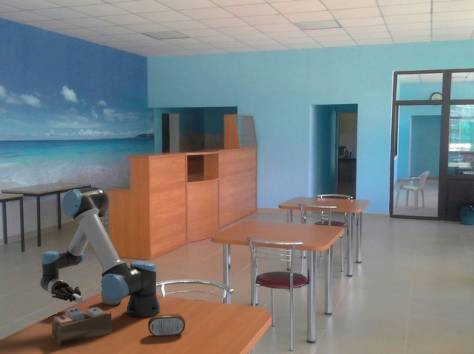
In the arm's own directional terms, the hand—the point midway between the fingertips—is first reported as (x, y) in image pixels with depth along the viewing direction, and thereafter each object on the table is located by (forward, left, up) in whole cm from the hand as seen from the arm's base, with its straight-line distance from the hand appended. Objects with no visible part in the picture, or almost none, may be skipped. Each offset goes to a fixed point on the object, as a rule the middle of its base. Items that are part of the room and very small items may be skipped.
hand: (80, 300), depth 225 cm
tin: (-36, +23, -9) cm, 44 cm away
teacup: (-13, -22, -9) cm, 27 cm away
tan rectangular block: (+5, +20, -6) cm, 22 cm away
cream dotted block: (-8, +13, -6) cm, 16 cm away
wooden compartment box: (-2, +18, -9) cm, 20 cm away
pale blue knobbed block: (+1, +12, -6) cm, 14 cm away
